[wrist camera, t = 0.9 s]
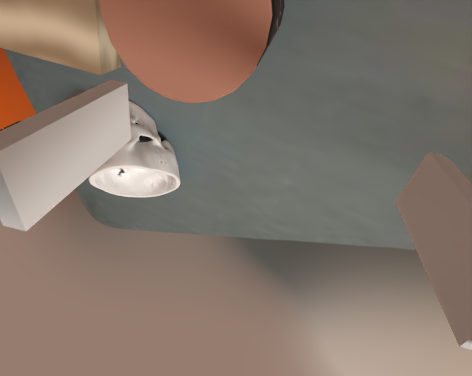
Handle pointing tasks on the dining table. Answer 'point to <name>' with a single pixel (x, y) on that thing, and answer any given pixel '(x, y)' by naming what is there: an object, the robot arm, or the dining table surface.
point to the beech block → (59, 33)
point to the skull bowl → (139, 163)
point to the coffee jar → (191, 42)
